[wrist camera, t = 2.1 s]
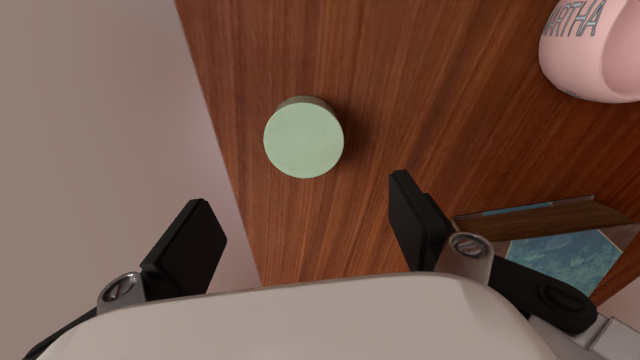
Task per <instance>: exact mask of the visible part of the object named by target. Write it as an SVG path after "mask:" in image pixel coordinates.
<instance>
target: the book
mask: <svg viewBox="0 0 640 360" xmlns="http://www.w3.org/2000/svg"><path fill="white" fill-rule="evenodd" d="M594 196H595V195H590V196H583V197H577V198H570V199H564V200H557V201H550V202H544V203H537V204H531V205H524V206H518V207H512V208H505V209H499V210H492V211H486V212H480V213H474V214H468V215H463V216H453V217H452V223H451V224H452V225H453V226H454V228H455V229H456V230H457V231H469V232H474V233H476V234H479V235H481V236H482V237H484V238H485V239H487V240H488V241H489V242H490V243H491V244H492V246H493V248H494V254H495V255H498V256H500V257H503V258H505V259H508V260H510V261H513V262H515V263H518V264H520V265H523V266H525V267H528V268H530V269H533V270H535V271H538V272H540V273H543V274H545V275H548V276H550V277H553V278H555V279H558V280H560V281H563V282H565V283H567V284H569V285H571V286H573V287H575V288H576V289H578V290H579V291H581V292H582V293H584V294H585V295H586V296H587V297H589V296H590V294H591V293H592V292H593V290H594V289H595V288H596V286H597V285H598V284H599V283H600V281H601V280H602V279H603V277H604V276H605V275H606V274H607V272H608V271H609V270H610V268H611V267H612V266H613V264H614V263H615V262H616V261H617V259H618V258H619V257H620V255H621V254H622V253H623V251H624V250H625V249H626V248H627V246H628V245H629V244H630V242H631V241H632V240H633V239H634V237H635V236H636V235H637V233H638V232H639V231H640V223H634V222H633V221H631V220H630V219H629V218H627V217H626V216H625V215H623V214H622V213H620V212H619V211H617V210H615V209H613V208H611V207H608V206H606V205H603V204H601V203H599V202H596V201H593V198H594Z"/></svg>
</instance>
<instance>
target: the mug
mask: <svg viewBox="0 0 640 360" xmlns="http://www.w3.org/2000/svg"><path fill="white" fill-rule="evenodd" d="M538 56H539V64H540V66H541V69H542V71H543V74H544V75H545V76H546V77H547V78H548V79H549V80H550V81H551V82H552V83H553V84H554V85H555V86H556V87H557V88H558V89H559V90H561V91H563V92H565V93H567V94H569V95H571V96H573V97H576V98H580V99H584V100H590V101H596V102H603V103H630V102H635V101H639V100H640V0H560V1H559V2H558V4H557V5H556V7H555V8H554V10H553V12H552V13H551V15H550V16H549V18H548V20H547V22H546V25H545V27H544V29H543V32H542V35H541V38H540V42H539V51H538Z"/></svg>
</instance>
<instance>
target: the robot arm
mask: <svg viewBox="0 0 640 360" xmlns="http://www.w3.org/2000/svg"><path fill="white" fill-rule="evenodd" d="M389 221H390V224H391V226H392V229H393V231H394V233H395V236H396V238H397V240H398V243H399V245H400V248H401V250H402V252H403V255H404V257H405V259H406V262H407V264H408V267H409V269H410V271H411V272H396V273H385V274H375V275H364V276H355V277H346V278H337V279H328V280H319V281H310V282H301V283H292V284H284V285H275V286H267V287H258V288H251V289H242V290H233V291H225V292H217V293H209V294H205V293H206V291H207V289H208V286H209V283H210V282H211V279H212V277H213V275H214V272H215V269H216V267H217V265H218V263H219V260H220V258H221V256H222V253H223V251H224V249H225V246H226V244H227V237H226V236H225V233H224V232H223V230H222V228H221V226H220V224H219V222H218V220H217V218H216V216H215V214H214V213H213V210H212V209H211V207H210V205H209V203H208V201H205V200H204V199H202V198H200V199H193V200H190V201H189V202H188V203H187V204H186V205H185V207H184V208H183V209H182V211H181V212H180V213H179V215H178V216H177V217H176V218H175V220H174V221H173V222H172V224H171V225H170V226H169V227H168V229H167V230H166V232H165V233H164V234H163V235H162V237H161V238H160V239H159V241H158V242H157V243H156V244H155V246H154V247H153V248H152V250H151V251H150V252H149V254H148V255H147V256H146V258H145V259H144V260H143V261H142V263H141V264H140V265H139V266H140V267H141V268H142V269H143V270H142V271H141V273H138V272H129V273H126V274H123V275H121V276H119V277H118V278H116V279H115V280H113V281H112V282H110V283H109V284H108V285H107V286H106V287H105V288H104V289H103V290H102V291H101V293H100V295H99V296H98V300H97V306H96V307H95V308H93V309H92V310H90V311H89V312H87V313H86V314H84V315H82V316H81V317H79V318H78V319H76V320H74V321H73V322H71V323H70V324H68V325H67V326H65V327H63V328H62V329H60V330H59V331H57V332H56V333H54V334H52V335H51V336H49V337H48V338H46V339H45V340H43V341H42V342H40V343H39V344H37V345H36V346H34V347H33V348H32V349H31V350H30V351H29V352H28V353H27V355H26V356H25V357H24V358H23V359H22V360H559V359H560V360H640V332H638V331H637V330H635V329H633V328H632V327H630V326H628V325H627V324H625V323H623V322H621V321H620V320H618V319H616V318H615V317H613V316H612V317H611V318H610V319H608V318H607V317H605V316H603V315H602V314H600V313H598V312H597V309H596V307H595V305H594V304H593V303H592V301H591V300H590V299H589V298H588V297H587V296H586V295H585V294H584V293H582V292H581V291H579V290H578V289H576V288H575V287H573V286H571V285H569V284H567V283H565V282H563V281H560V280H558V279H555V278H553V277H550V276H548V275H545V274H543V273H540V272H538V271H535V270H533V269H530V268H528V267H525V266H523V265H520V264H518V263H515V262H513V261H510V260H508V259H505V258H503V257H500V256H498V255H495V254H494V248H493V246H492V244H491V243H490V242H489V241H488V240H487V239H485V238H484V237H482V236H481V235H479V234H476V233H474V232H469V231H457V230H456V229H455V228H454V226H453V225H452V224H451V222H450V221H449V220H448V218H447V217H446V216H445V214H444V213H443V212H442V210H441V209H440V208H439V207H438V205H437V204H436V203H435V201H434V200H433V199H432V197H431V196H430V195H429V194H428V193H422V191H421V190H420V188H419V187H418V186H417V184H416V183H415V182H414V180H413V179H412V177H411V176H410V175H409V173H408V172H407V170H406V169H403V170H396V171H393V174H390V175H389ZM558 358H559V359H558Z"/></svg>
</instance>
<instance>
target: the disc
mask: <svg viewBox="0 0 640 360" xmlns="http://www.w3.org/2000/svg"><path fill="white" fill-rule="evenodd" d="M264 147H265V151H266V153H267V156H268V157H269V159H270V161H271V162H272V163H273V164H274V165H275V167H277V168H278V169H279V170H280V171H282V172H284V173H285V174H287V175H290V176H293V177H297V178H312V177H316V176H319V175H322V174H324V173H326V172H327V171H329V170H330V169H331V168H332V167H333V166H334V165H335V164H336V163H337V162H338V160H339V158H340V157H341V154H342V151H343V147H344V136H343V131H342V128H341V125H340V122H339V119H338V117H337V115H336V113H335V112H334V110H333V109H332V108H331V107H330V106H329V105H328V104H327V103H326V102H324V101H323V100H321V99H319V98H316V97H313V96H307V95H301V96H295V97H292V98H289V99H287V100H285V101H284V102H282V103H281V104H280V105H279V106H278V107H277V108H276V109H275V111H274V112H273V114H272V116H271V118H270V120H269V121H268V123H267V125H266V128H265V132H264Z"/></svg>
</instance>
